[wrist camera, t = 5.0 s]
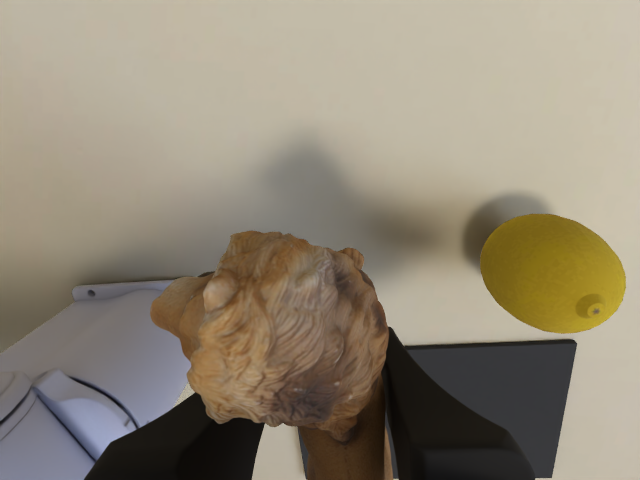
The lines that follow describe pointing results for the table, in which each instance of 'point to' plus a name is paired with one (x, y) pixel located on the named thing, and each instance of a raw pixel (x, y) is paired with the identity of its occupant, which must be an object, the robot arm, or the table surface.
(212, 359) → the lion figurine
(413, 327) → the table surface
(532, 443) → the desk mat
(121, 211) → the table surface
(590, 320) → the lemon
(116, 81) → the table surface
